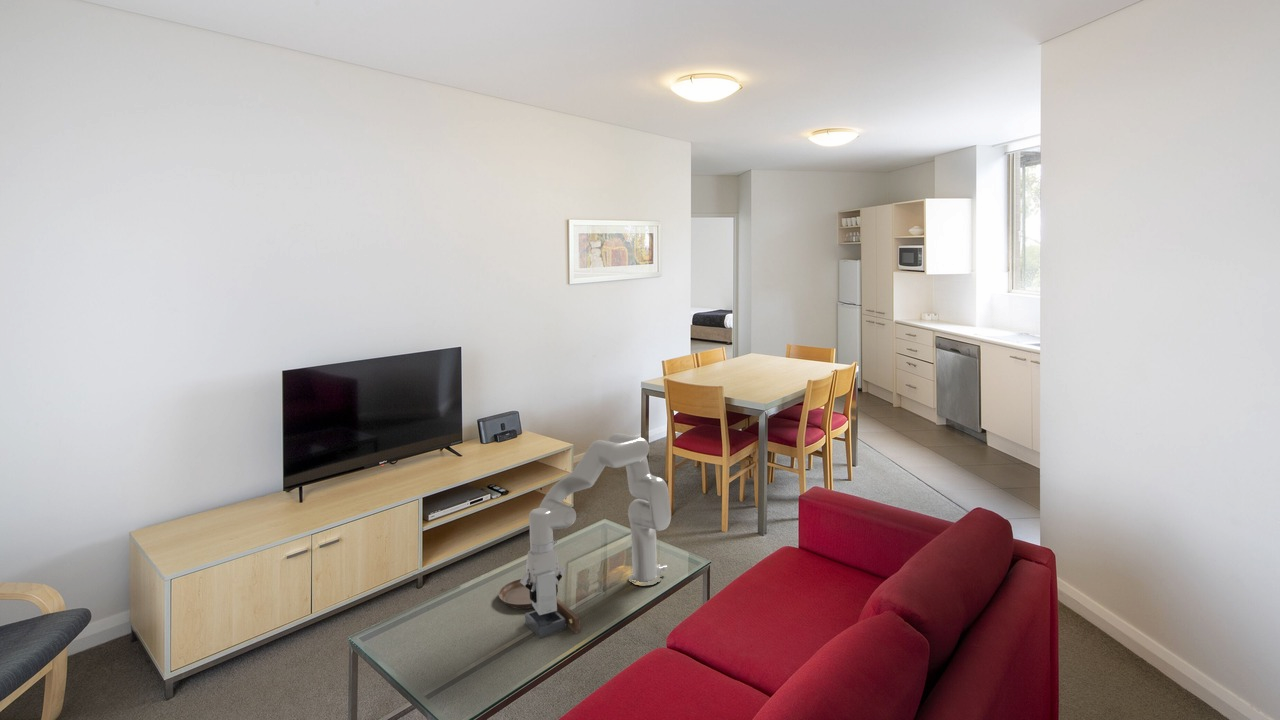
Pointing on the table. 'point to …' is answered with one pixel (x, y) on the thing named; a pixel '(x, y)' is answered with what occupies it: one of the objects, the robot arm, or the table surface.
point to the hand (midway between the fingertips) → (544, 597)
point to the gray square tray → (545, 623)
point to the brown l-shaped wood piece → (569, 616)
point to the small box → (545, 593)
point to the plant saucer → (516, 595)
